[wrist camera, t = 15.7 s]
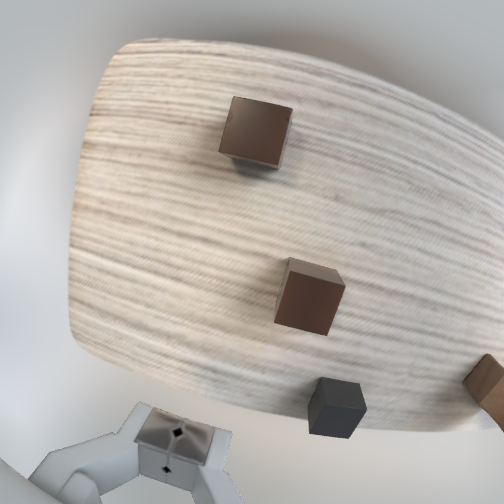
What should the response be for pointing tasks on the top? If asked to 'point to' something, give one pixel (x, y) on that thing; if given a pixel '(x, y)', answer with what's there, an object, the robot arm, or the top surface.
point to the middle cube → (308, 297)
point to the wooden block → (488, 388)
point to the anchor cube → (336, 408)
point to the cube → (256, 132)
